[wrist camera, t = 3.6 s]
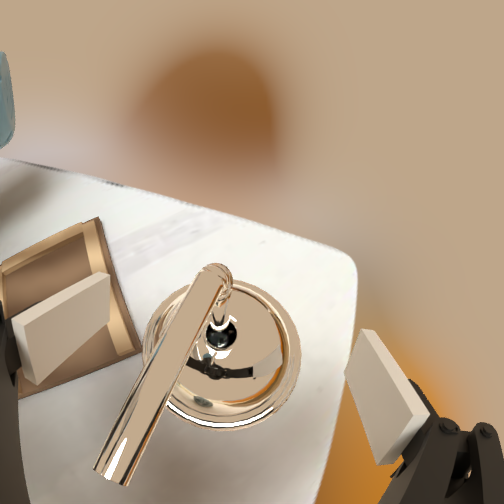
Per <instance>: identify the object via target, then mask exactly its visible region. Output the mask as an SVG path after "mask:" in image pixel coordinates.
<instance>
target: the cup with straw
mask: <svg viewBox="0 0 504 504" xmlns="http://www.w3.org/2000/svg"><path fill="white" fill-rule="evenodd" d="M301 356H302V353H301V344H300V338H299V335H298V332H297V329H296V326H295V324H294V323H293V321H292V319H291V317H290V315H289V314H288V312H287V311H286V310H285V309H284V308H283V306H282V305H281V304H280V303H279V302H278V301H277V300H276V299H275V298H273V297H272V296H271V295H270V294H269V293H267V292H265V291H264V290H262V289H260V288H258V287H257V286H254V285H252V284H249V283H246V282H243V281H239V280H233V277H232V274H231V272H230V270H229V269H228V268H227V267H226V266H225V265H223V264H219V263H212V264H209V265H207V266H205V267H203V268H202V269H201V270H200V271H199V272H198V273H197V274H196V275H195V278H194V279H193V281H192V282H191V284H189V285H186V286H184V287H182V288H181V289H179V290H177V291H176V292H174V293H172V294H171V295H170V296H169V297H168V298H167V299H165V300H164V301H163V302H162V303H161V304H160V306H159V307H158V308H157V310H156V311H155V312H154V313H153V315H152V317H151V319H150V321H149V323H148V325H147V327H146V331H145V335H144V338H143V346H142V359H143V366H144V368H143V369H142V371H141V373H140V375H139V377H138V379H137V381H136V383H135V384H134V386H133V388H132V390H131V392H130V394H129V396H128V398H127V400H126V402H125V404H124V405H123V407H122V409H121V411H120V413H119V415H118V417H117V419H116V421H115V423H114V425H113V427H112V429H111V431H110V433H109V435H108V437H107V439H106V441H105V443H104V445H103V447H102V449H101V451H100V453H99V456H98V458H97V460H96V462H95V464H94V466H93V468H92V469H93V470H94V471H96V472H97V473H99V474H100V475H102V476H104V477H106V478H107V479H109V480H111V481H113V482H116V483H118V484H120V485H123V486H128V485H129V483H130V480H131V478H132V476H133V474H134V472H135V470H136V468H137V466H138V463H139V461H140V459H141V457H142V455H143V453H144V451H145V449H146V446H147V444H148V442H149V440H150V438H151V436H152V434H153V432H154V430H155V428H156V425H157V423H158V421H159V419H160V417H161V415H162V413H163V411H164V409H165V408H166V409H167V410H168V411H169V412H170V413H172V414H173V415H175V416H176V417H178V418H179V419H181V420H182V421H184V422H186V423H188V424H190V425H193V426H195V427H198V428H201V429H206V430H212V431H236V430H240V429H245V428H249V427H251V426H254V425H256V424H258V423H260V422H262V421H264V420H266V419H267V418H269V417H270V416H271V415H273V414H274V413H275V412H277V411H278V410H279V409H280V407H281V406H282V405H283V404H284V403H285V402H286V401H287V399H288V398H289V396H290V394H291V393H292V391H293V389H294V387H295V385H296V382H297V378H298V375H299V372H300V367H301Z"/></svg>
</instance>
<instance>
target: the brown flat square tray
mask: <svg viewBox="0 0 504 504" xmlns="http://www.w3.org/2000/svg"><path fill="white" fill-rule="evenodd" d="M97 272H102V273H106V274H109V275H110V321H109V322H108V323H107V324H106V325H104V326H103V327H102V328H101V329H100V330H99V331H98V332H96V333H95V334H94V335H93V336H92V337H91V338H90V339H88V340H87V341H86V342H85V343H84V344H83V345H82V346H80V347H79V348H78V349H77V350H76V351H75V352H74V353H73V354H71V355H70V356H69V357H68V358H67V359H66V360H65V361H64V362H63V363H62V364H60V365H59V366H58V367H57V368H56V369H55V370H54V371H53V372H52V373H51V374H49V375H48V376H47V377H46V378H45V379H44V380H43V381H42V382H41V383H40V384H39V385H38V386H37V385H36V384H34V383H32V382H31V381H29V380H28V379H26V378H25V376H24V373H23V369H22V367H20V368H19V369H18V370H17V373H18V377H19V379H18V399H21V398H24V397H27V396H30V395H33V394H36V393H39V392H41V391H44V390H47V389H50V388H52V387H55V386H58V385H60V384H63V383H66V382H68V381H71V380H74V379H76V378H79V377H82V376H84V375H87V374H89V373H92V372H94V371H97V370H99V369H102V368H104V367H107V366H109V365H112V364H114V363H116V362H119V361H121V360H124V359H126V358H129V357H131V356H133V355H136V354H138V353H140V352H142V345H141V343H140V341H139V338H138V336H137V333H136V331H135V328H134V325H133V323H132V320H131V318H130V315H129V312H128V309H127V307H126V304H125V301H124V298H123V295H122V292H121V289H120V286H119V283H118V280H117V277H116V274H115V271H114V267H113V264H112V261H111V257H110V254H109V250H108V247H107V243H106V239H105V235H104V231H103V227H102V223H101V221H100V219H99V217H96V218H94V219H91V220H89V221H87V222H85V223H82V222H80V223H78V224H75V225H73V226H71V227H69V228H67V229H65V230H63V231H60V232H58V233H56V234H54V235H52V236H50V237H48V238H46V239H44V240H42V241H40V242H38V243H36V244H34V245H32V246H30V247H29V248H27V249H25V250H23V251H21V252H19V253H17V254H15V255H14V256H12V257H10V258H8V259H6V260H5V261H3V262H2V264H1V265H0V300H1V302H2V305H3V311H4V317H5V320H6V319H7V318H9V317H11V316H12V315H14V314H16V313H18V312H20V311H21V310H23V309H25V308H27V307H29V306H30V305H32V304H34V303H36V302H39V301H43V300H46V299H47V298H49V297H51V296H53V295H55V294H57V293H58V292H60V291H62V290H64V289H66V288H68V287H70V286H72V285H74V284H75V283H77V282H79V281H81V280H83V279H85V278H87V277H89V276H91V275H93V274H95V273H97Z"/></svg>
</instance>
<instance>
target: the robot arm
mask: <svg viewBox="0 0 504 504" xmlns="http://www.w3.org/2000/svg"><path fill="white" fill-rule="evenodd" d="M14 130H15V110H14V100H13V91H12V83H11V77H10V70H9V65H8V62H7V59H6V54H5V53H4V52H0V149H1V148H3V147H4V146H5V145H6V144H8V143H9V142H10V140H11V139H12V137H13V134H14ZM109 321H110V275H109V274H106V273H102V272H97V273H95V274H93V275H91V276H89V277H87V278H85V279H83V280H81V281H79V282H77V283H75V284H74V285H72V286H70V287H68V288H66V289H64V290H62V291H60V292H58V293H57V294H55V295H53V296H51V297H49V298H47V299H46V300H43V301H39V302H36V303H34V304H32V305H30V306H29V307H27V308H25V309H23V310H21V311H20V312H18V313H16V314H14V315H12V316H11V317H9V318H7V319H6V320H5V317H4V311H3V305H2V302H1V300H0V504H30V500H29V495H28V491H27V486H26V481H25V475H24V469H23V463H22V455H21V446H20V435H19V419H18V379H19V377H18V373H17V370H18V369H19V368H20V367H22V369H23V373H24V376H25V378H26V379H28V380H29V381H31V382H32V383H34V384H36V385H37V386H38V385H39V384H40V383H41V382H42V381H43V380H44V379H45V378H46V377H47V376H48V375H49V374H51V373H52V372H53V371H54V370H55V369H56V368H57V367H58V366H59V365H60V364H62V363H63V362H64V361H65V360H66V359H67V358H68V357H69V356H70V355H71V354H73V353H74V352H75V351H76V350H77V349H78V348H79V347H80V346H82V345H83V344H84V343H85V342H86V341H87V340H88V339H90V338H91V337H92V336H93V335H94V334H95V333H96V332H98V331H99V330H100V329H101V328H102V327H103V326H104V325H106V324H107V323H108V322H109ZM344 375H345V377H346V380H347V382H348V385H349V388H350V390H351V393H352V395H353V398H354V401H355V404H356V407H357V410H358V412H359V415H360V418H361V421H362V423H363V426H364V429H365V432H366V435H367V438H368V441H369V444H370V447H371V449H372V452H373V455H374V458H375V461H376V464H377V465H386V464H393V463H394V462H395V461H396V460H397V459H398V457H399V456H400V455H401V454H402V457H403V459H404V461H403V463H402V464H401V465H400V466H399V467H398V468H397V470H396V471H395V472H394V473H393V474H392V475H391V476H390V477H391V478H392V477H393V476H394V477H393V479H392V481H391V483H390V484H389V486H388V488H387V490H386V491H385V493H384V495H383V496H382V498H381V500H380V501H379V503H378V504H504V458H503V454H502V449H501V445H500V441H499V438H498V434H497V432H496V430H495V429H494V428H493V426H492V425H490V424H487V423H484V422H480V423H477V424H476V426H475V427H474V428H473V430H472V431H471V432H468V431H460V428H459V426H458V425H457V424H456V423H455V422H454V421H452V420H450V419H448V418H440V417H439V416H438V414H437V413H436V411H435V410H434V408H433V407H432V405H431V404H430V402H429V401H428V400H427V398H426V396H425V395H424V394H423V392H422V390H421V389H420V387H419V386H418V385H417V384H415V382H413V381H412V380H411V379H407V378H406V376H405V375H404V373H403V372H402V370H401V369H400V367H399V366H398V364H397V363H396V361H395V360H394V358H393V357H392V356H391V354H390V353H389V351H388V350H387V348H386V347H385V346H384V344H383V343H382V341H381V340H380V338H379V337H378V336H377V334H376V333H375V332H374V330H367V329H361V331H360V333H359V336H358V338H357V341H356V344H355V346H354V349H353V351H352V354H351V356H350V358H349V361H348V363H347V366H346V368H345V370H344ZM470 470H471V474H470V477H468V473H469V472H470Z"/></svg>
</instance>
